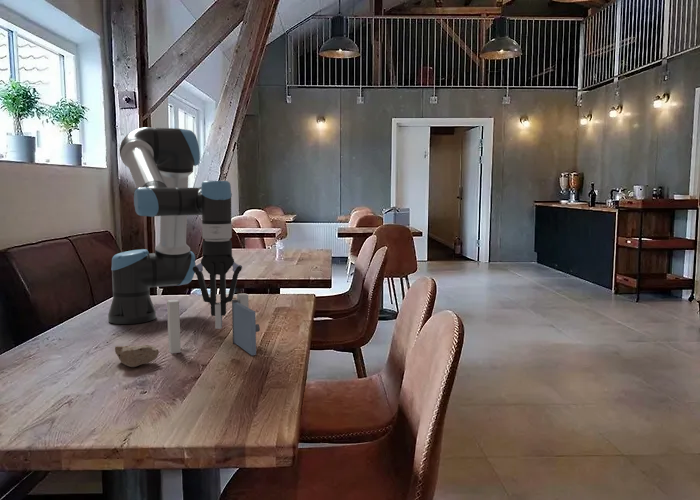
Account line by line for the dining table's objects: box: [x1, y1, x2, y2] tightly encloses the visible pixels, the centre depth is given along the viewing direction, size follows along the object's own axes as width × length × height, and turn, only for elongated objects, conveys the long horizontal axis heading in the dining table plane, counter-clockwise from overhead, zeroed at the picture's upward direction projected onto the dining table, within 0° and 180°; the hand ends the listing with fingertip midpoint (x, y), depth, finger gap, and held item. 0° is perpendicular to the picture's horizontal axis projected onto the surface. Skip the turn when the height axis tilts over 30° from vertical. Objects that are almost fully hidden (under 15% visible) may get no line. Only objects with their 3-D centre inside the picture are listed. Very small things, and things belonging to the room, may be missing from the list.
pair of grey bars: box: [166, 292, 250, 355], centre depth 161 cm, size 3×22×14 cm, turn 120°
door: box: [231, 298, 261, 356], centre depth 158 cm, size 3×16×13 cm, turn 29°
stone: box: [114, 344, 160, 368], centre depth 145 cm, size 9×12×5 cm
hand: (218, 327), depth 154 cm, fingers closed
